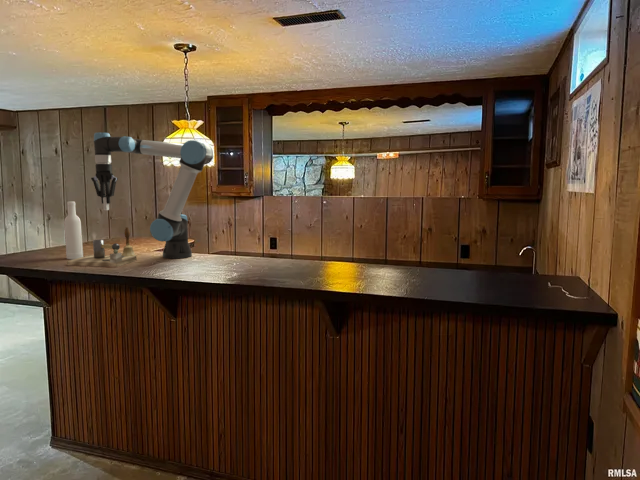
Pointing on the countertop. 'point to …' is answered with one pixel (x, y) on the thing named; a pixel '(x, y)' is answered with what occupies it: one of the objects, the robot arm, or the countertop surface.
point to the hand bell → (128, 249)
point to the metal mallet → (102, 248)
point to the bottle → (73, 233)
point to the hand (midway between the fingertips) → (106, 210)
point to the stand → (103, 260)
